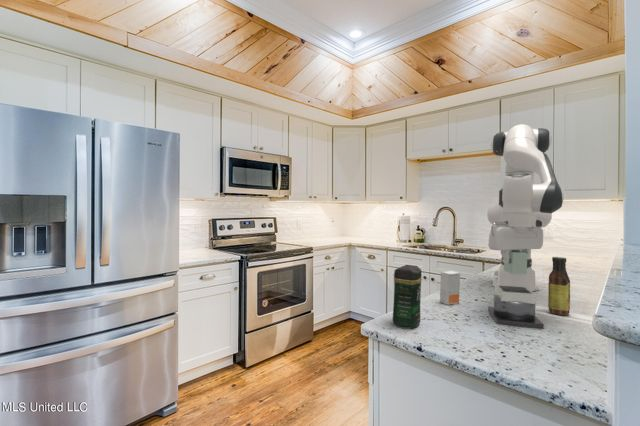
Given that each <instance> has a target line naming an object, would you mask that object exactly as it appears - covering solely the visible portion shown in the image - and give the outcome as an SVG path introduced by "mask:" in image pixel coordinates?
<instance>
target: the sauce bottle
mask: <svg viewBox="0 0 640 426" xmlns="http://www.w3.org/2000/svg"><path fill="white" fill-rule="evenodd" d="M551 260H552V271H551V272H550V273H549V275H548V283H547V284H548V288H547V289H548V290H547V292H548V293H547V296H548V297H547V303H548V304H547V306H548V307H547V308H548V312H549V313H550V314H553V315H557V316H569V315H570V310H571V280H570V277H569V275H568V272H567V267H566V265H567V258H566V257H563V256H552V257H551Z"/></svg>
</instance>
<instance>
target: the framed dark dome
mask: <svg viewBox="0 0 640 426" xmlns="http://www.w3.org/2000/svg"><path fill="white" fill-rule="evenodd" d="M536 305H537V293H535V292H534V291H531V290H530V289H528V288H527V287H518V286H505V285H495V287H494V295H493V306H491V305H489V306H487V311H488V313H489V315H490V316H491V318H492V319H493V321H494V323H495V324H496V325H503V326H512V327H520V328H521V327H522V328H531V329H539V330H544V329H545V324H544V322H542V321H541V320H540V319H539V318H538V317H537V316H536V308H537V306H536Z"/></svg>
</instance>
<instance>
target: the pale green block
mask: <svg viewBox="0 0 640 426" xmlns="http://www.w3.org/2000/svg"><path fill="white" fill-rule="evenodd" d="M508 256H509V258H511V263H510V264H505V263H504V271H506V272H509V273H511V274H527V253H526V252H522V251H520V250H509V253H508Z"/></svg>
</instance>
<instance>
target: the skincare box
mask: <svg viewBox="0 0 640 426" xmlns="http://www.w3.org/2000/svg"><path fill="white" fill-rule="evenodd" d="M460 281H461V273H460V272H458V271H455V270H449V271H448V270H445V271H441V272H440V286H439V287H440V288H439V293H440V294H439V302H440V303H442V304H444V305H446V306H451V305H456V304H457V305H458V304H460V288H461V287H460V286H461V285H460V284H461V282H460Z"/></svg>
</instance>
